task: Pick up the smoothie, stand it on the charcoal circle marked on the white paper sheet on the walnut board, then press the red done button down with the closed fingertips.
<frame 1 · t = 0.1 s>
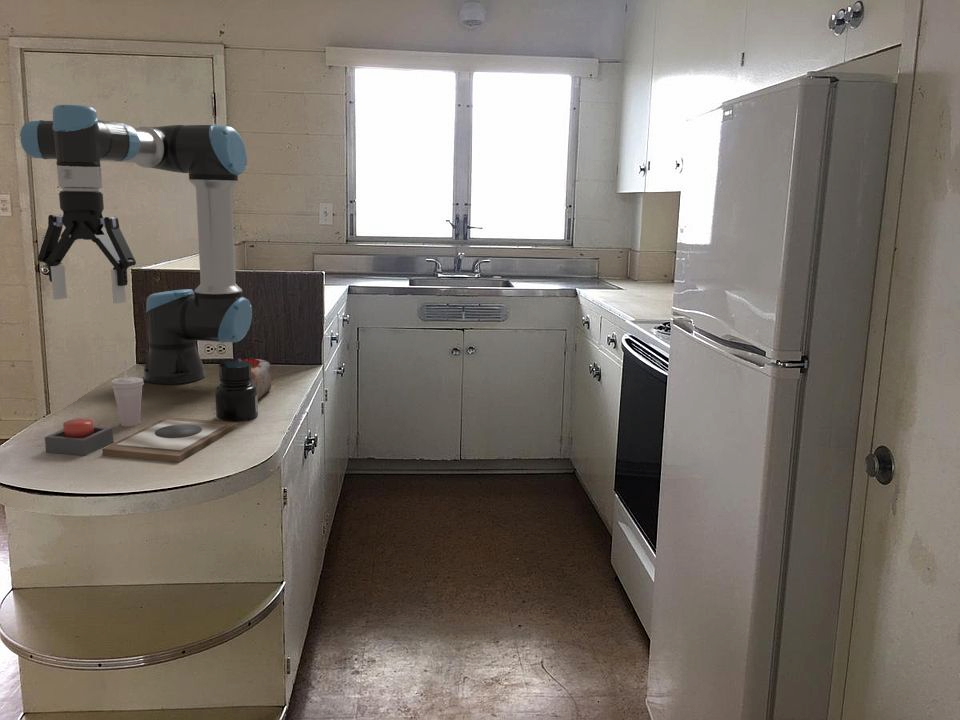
hand: (89, 300, 156), 28 cm above the countertop, fingers open, 13 cm apart
smoothie: (130, 424, 170), on the countertop
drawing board: (173, 440, 160), on the countertop
food item: (250, 398, 194), on the countertop
ink bottle: (237, 417, 178), on the countertop
button housing: (80, 446, 155), on the countertop
done button: (78, 428, 154), point 4 cm above the countertop, slide at 0.0 cm
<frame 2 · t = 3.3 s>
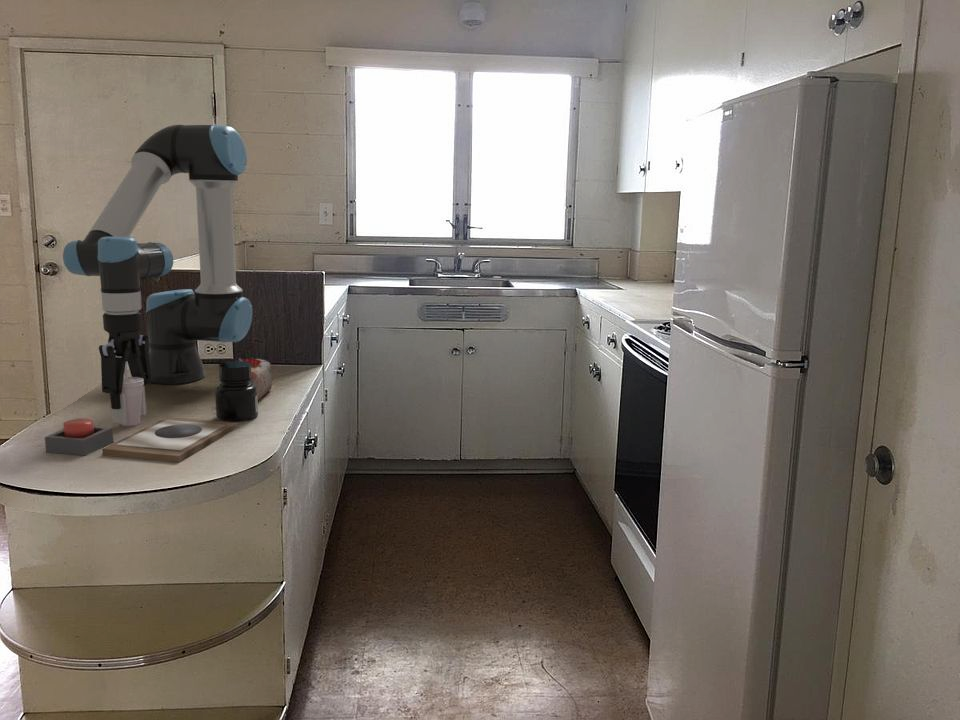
hand: (130, 418, 170), 1 cm above the countertop, fingers closed on smoothie, 6 cm apart
smoothie: (130, 424, 170), on the countertop, touching gripper
everything else where it was.
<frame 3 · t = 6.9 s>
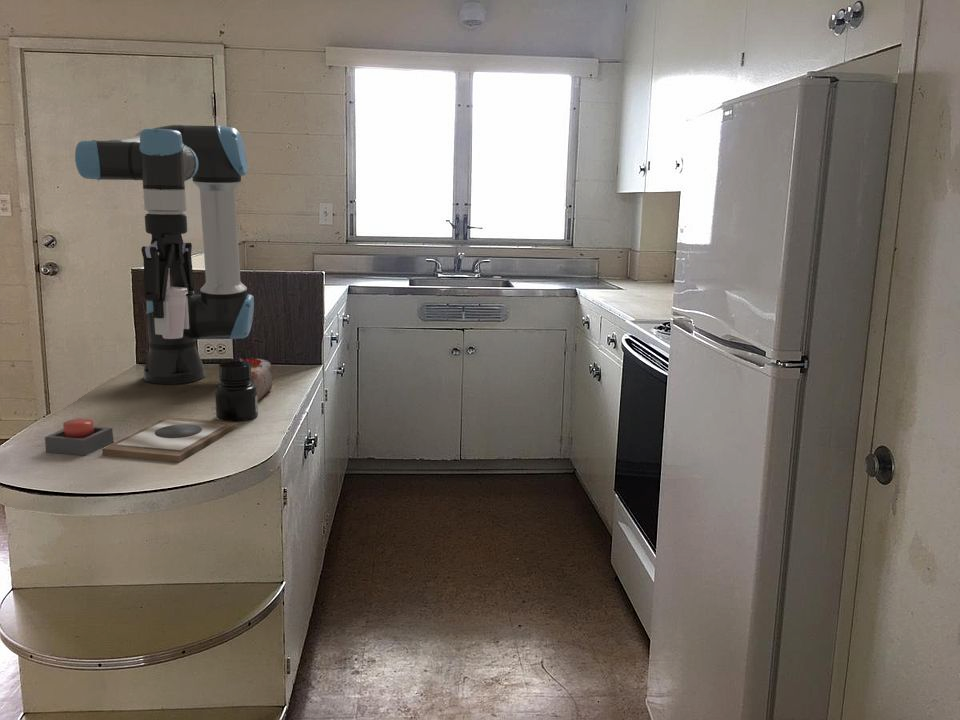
hand: (172, 331, 157), 22 cm above the countertop, fingers closed on smoothie, 6 cm apart
smoothie: (172, 338, 158), point 21 cm above the countertop, touching gripper
everything else where it was.
when the fingers open (4 cm above the countertop, at t = 10.4 s): smoothie drops 1 cm, resting on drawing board.
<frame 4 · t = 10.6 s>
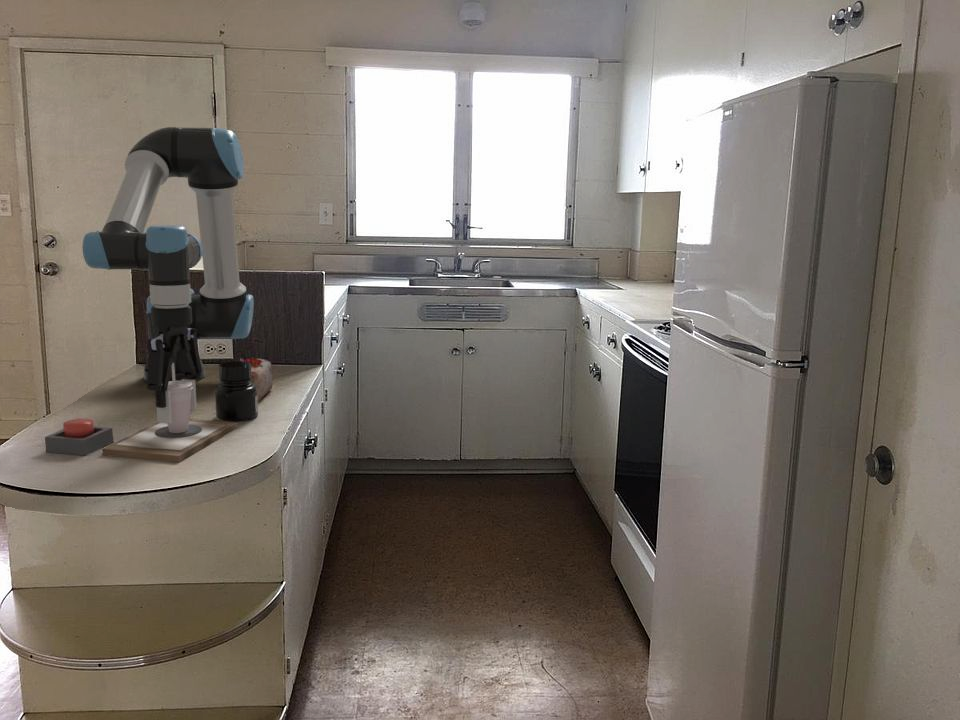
hand: (177, 416, 161), 5 cm above the countertop, fingers open, 8 cm apart
smoothie: (179, 431, 162), point 1 cm above the countertop, touching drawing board
everything else where it was.
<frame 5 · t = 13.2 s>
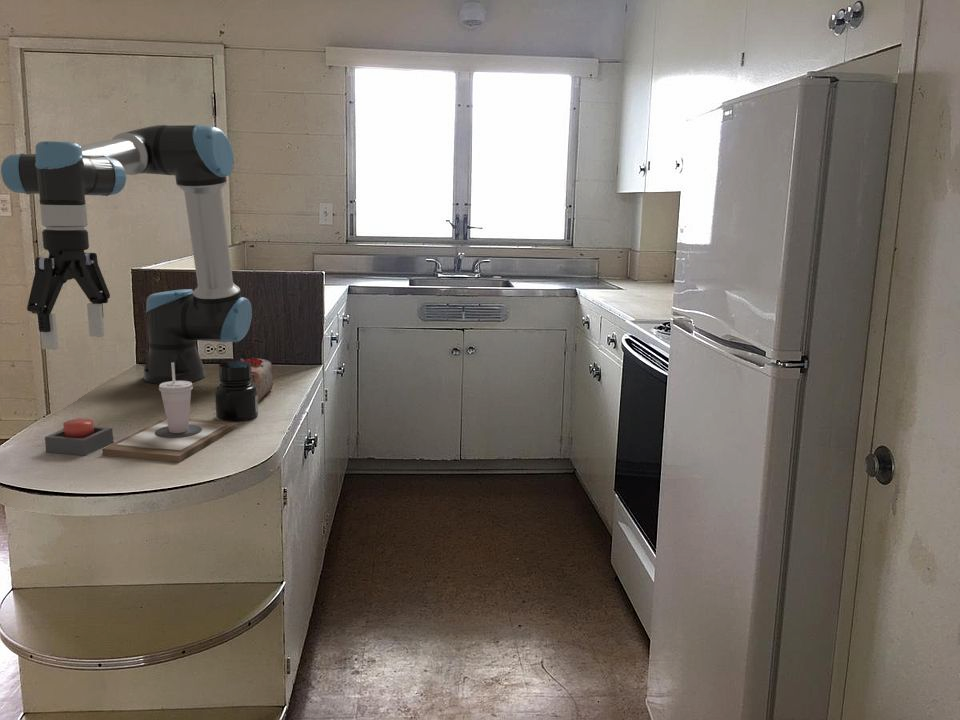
hand: (74, 342, 151), 21 cm above the countertop, fingers open, 12 cm apart
nothing on the countertop moved.
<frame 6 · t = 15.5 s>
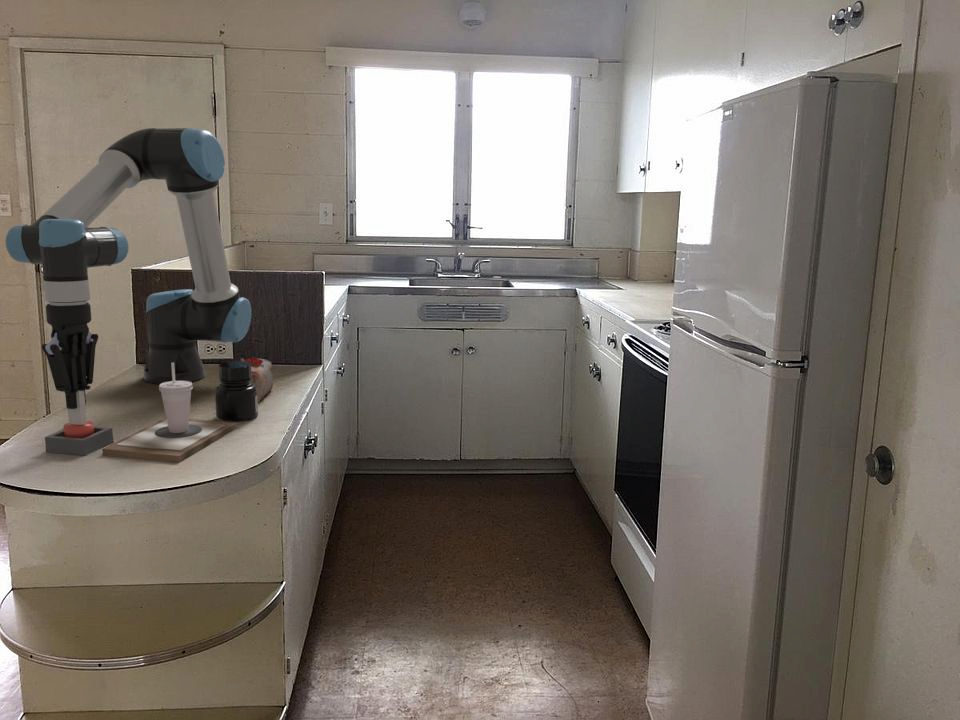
hand: (77, 423, 154), 5 cm above the countertop, fingers closed
done button: (79, 430, 154), point 3 cm above the countertop, slide at 0.4 cm, touching gripper
everything else where it was.
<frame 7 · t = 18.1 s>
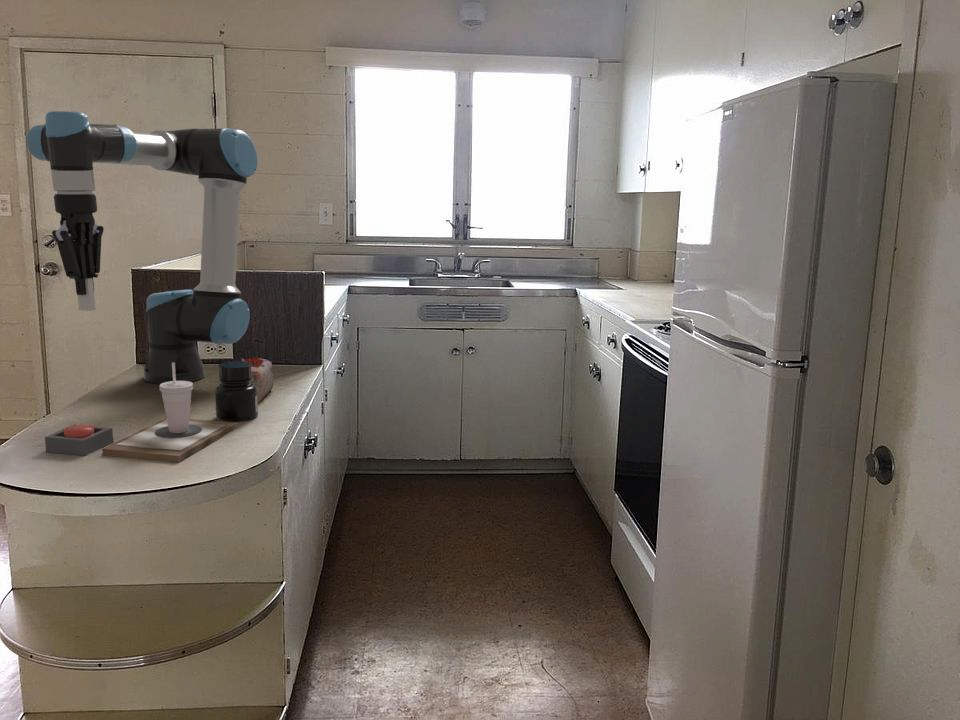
hand: (87, 309, 163), 25 cm above the countertop, fingers closed
done button: (79, 434, 155), point 3 cm above the countertop, slide at 1.2 cm
everything else where it was.
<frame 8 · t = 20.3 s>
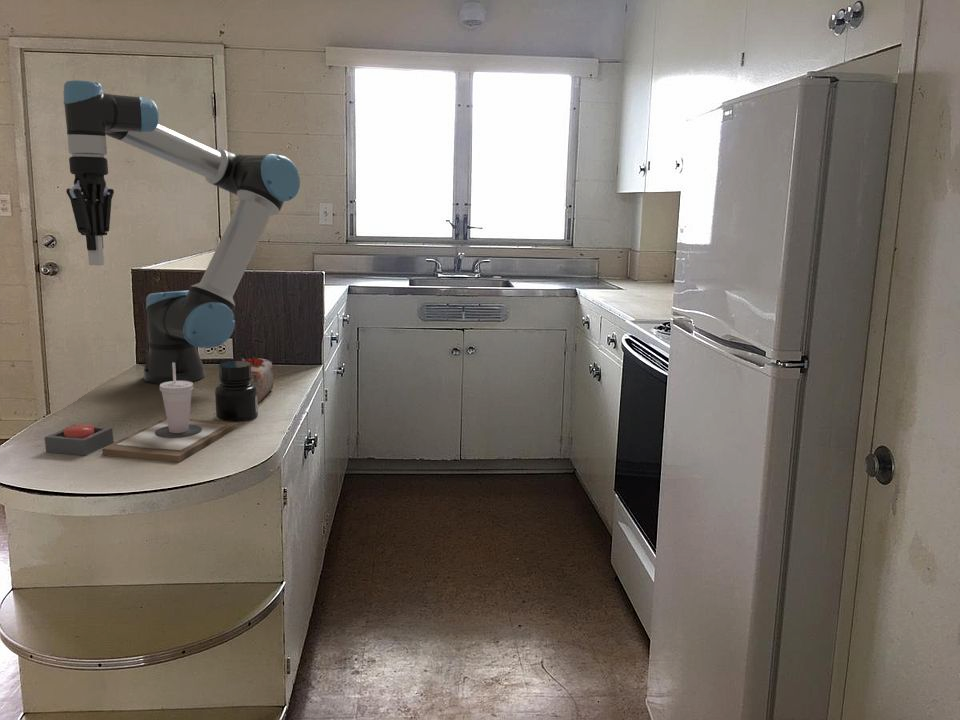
hand: (96, 264, 178), 32 cm above the countertop, fingers closed
nothing on the countertop moved.
at the end: smoothie inside the target area on the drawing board (0.3 cm from its centre), point 1.3 cm above the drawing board's base; smoothie tilted 1°; done button slide at 1.2 cm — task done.
